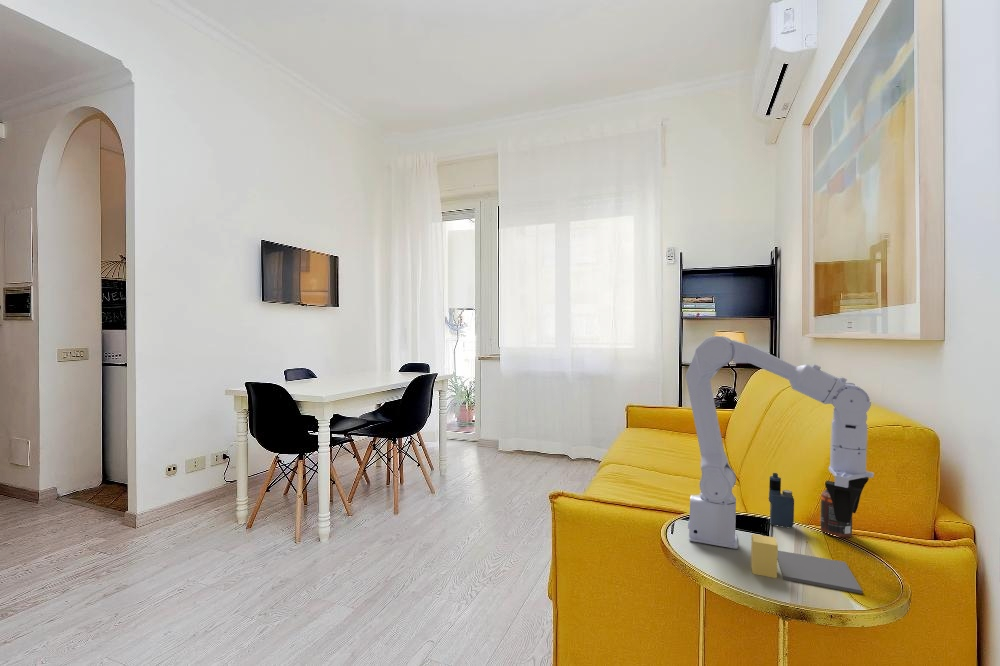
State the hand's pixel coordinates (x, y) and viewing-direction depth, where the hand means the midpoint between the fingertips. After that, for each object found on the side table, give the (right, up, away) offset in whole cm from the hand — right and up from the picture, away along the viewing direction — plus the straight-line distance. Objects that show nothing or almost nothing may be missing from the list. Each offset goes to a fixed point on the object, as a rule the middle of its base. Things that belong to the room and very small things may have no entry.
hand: (846, 516), depth 96 cm
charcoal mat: (-7, -10, -2) cm, 12 cm away
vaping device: (-1, -10, +21) cm, 23 cm away
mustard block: (-17, -9, -3) cm, 20 cm away
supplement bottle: (+9, -10, +17) cm, 22 cm away
